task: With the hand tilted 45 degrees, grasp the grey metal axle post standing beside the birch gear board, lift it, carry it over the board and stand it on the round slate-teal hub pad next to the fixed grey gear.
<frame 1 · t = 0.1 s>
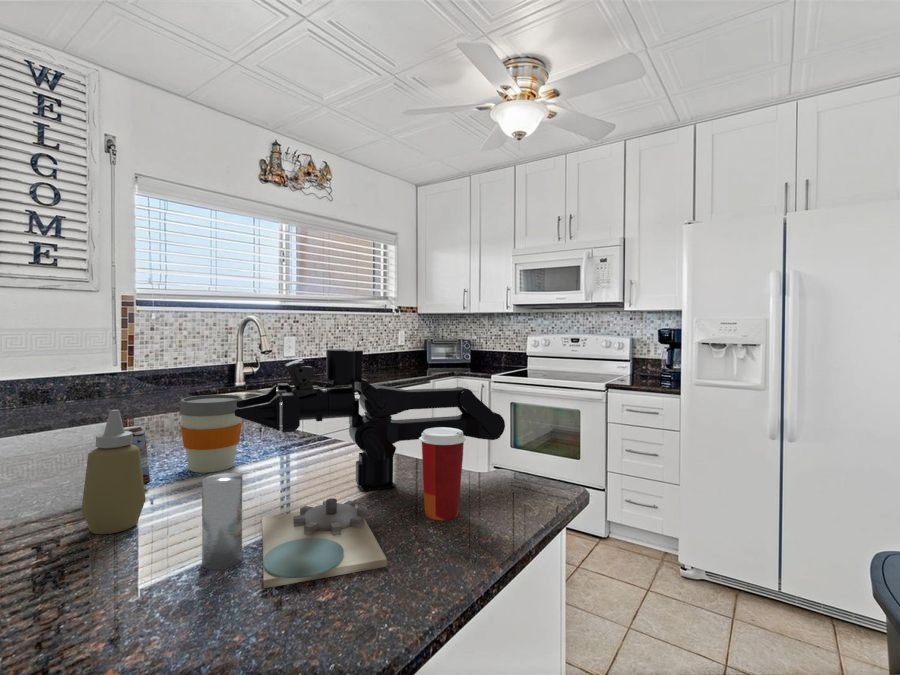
hand: (235, 408, 84), 17 cm above the countertop, tool horizontal, fingers open, 9 cm apart
paper cup: (441, 515, 80), on the countertop
board: (318, 542, 69), on the countertop
axle: (222, 560, 63), on the countertop
reusable coffee cup: (211, 467, 105), on the countertop
beverage can: (128, 491, 89), on the countertop
squeeze bottle: (114, 528, 73), on the countertop
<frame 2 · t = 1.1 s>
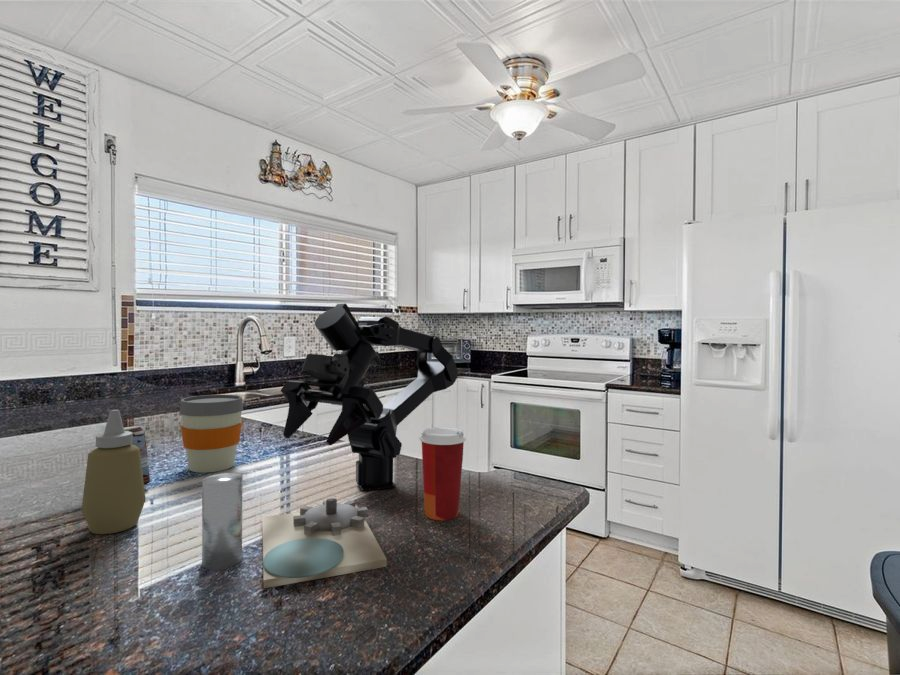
hand: (306, 440, 77), 13 cm above the countertop, tool tilted 45°, fingers open, 9 cm apart
nothing on the countertop moved.
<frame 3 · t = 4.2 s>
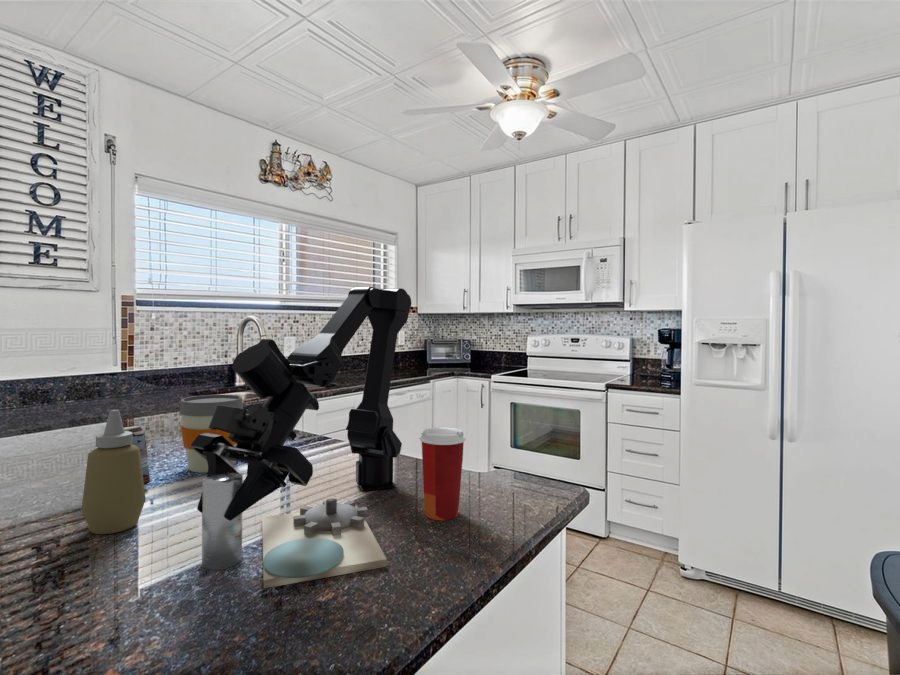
hand: (213, 515, 62), 7 cm above the countertop, tool tilted 45°, fingers closed on axle, 5 cm apart
axle: (222, 560, 63), on the countertop, touching gripper
everything else where it was.
when the fingers open (9 cm above the countertop, at t = 7.5 s): axle drops 1 cm, resting on board.
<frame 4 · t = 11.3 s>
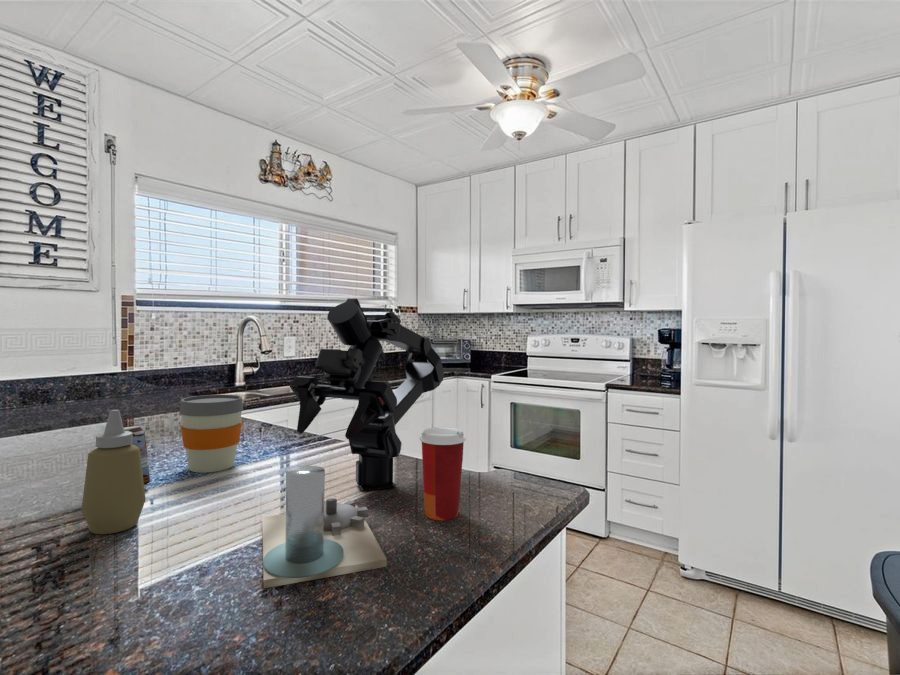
hand: (322, 435, 77), 14 cm above the countertop, tool tilted 45°, fingers open, 9 cm apart
axle: (304, 554, 62), point 1 cm above the countertop, touching board
everything else where it was.
at the end: axle inside the target area on the board (0.0 cm from its centre), point 1.4 cm above the board's base; axle tilted 0°; the gripper is holding nothing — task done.
